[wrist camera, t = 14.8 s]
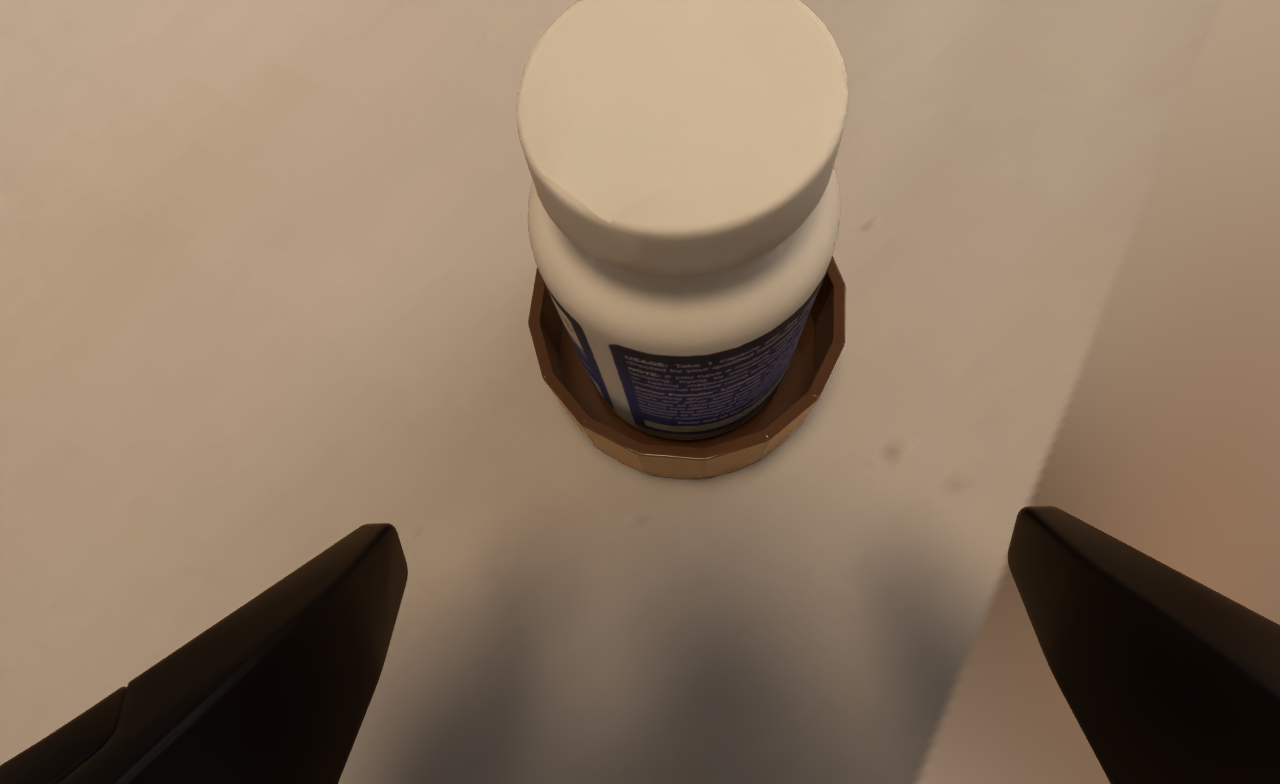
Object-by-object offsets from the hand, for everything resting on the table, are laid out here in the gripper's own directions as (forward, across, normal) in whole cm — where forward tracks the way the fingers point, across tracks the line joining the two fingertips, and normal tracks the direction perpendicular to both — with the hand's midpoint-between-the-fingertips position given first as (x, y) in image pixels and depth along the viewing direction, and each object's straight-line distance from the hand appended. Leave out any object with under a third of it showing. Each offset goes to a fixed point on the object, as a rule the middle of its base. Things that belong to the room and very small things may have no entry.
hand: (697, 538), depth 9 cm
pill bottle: (+10, 0, +1) cm, 10 cm away
